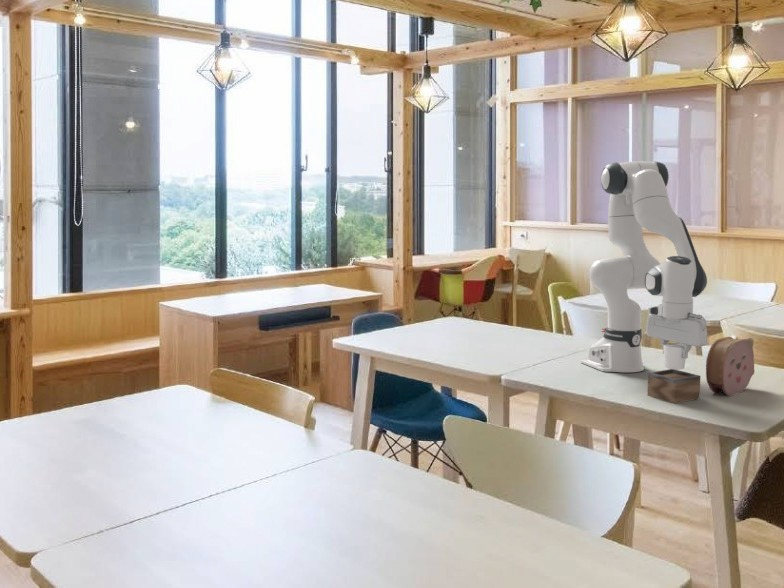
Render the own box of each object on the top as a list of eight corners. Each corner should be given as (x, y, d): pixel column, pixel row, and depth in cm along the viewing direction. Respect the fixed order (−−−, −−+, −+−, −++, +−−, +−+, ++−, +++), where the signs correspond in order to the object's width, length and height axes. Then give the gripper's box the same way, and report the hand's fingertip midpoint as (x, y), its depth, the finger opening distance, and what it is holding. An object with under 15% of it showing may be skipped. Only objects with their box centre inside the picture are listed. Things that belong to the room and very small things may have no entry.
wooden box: (647, 395, 248) (648, 372, 247) (671, 390, 253) (672, 368, 252) (674, 403, 239) (676, 380, 238) (699, 398, 244) (700, 375, 243)
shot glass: (657, 366, 246) (658, 343, 245) (674, 364, 249) (675, 341, 248) (674, 371, 240) (675, 347, 239) (691, 368, 243) (692, 345, 242)
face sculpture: (724, 399, 243) (727, 345, 240) (703, 395, 248) (705, 341, 245) (754, 387, 256) (757, 336, 253) (733, 383, 261) (736, 333, 259)
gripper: (713, 314, 235) (711, 361, 236) (658, 305, 252) (656, 349, 254) (698, 316, 231) (696, 363, 233) (643, 307, 249) (642, 351, 251)
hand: (675, 356), depth 244 cm, fingers closed on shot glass, 5 cm apart
